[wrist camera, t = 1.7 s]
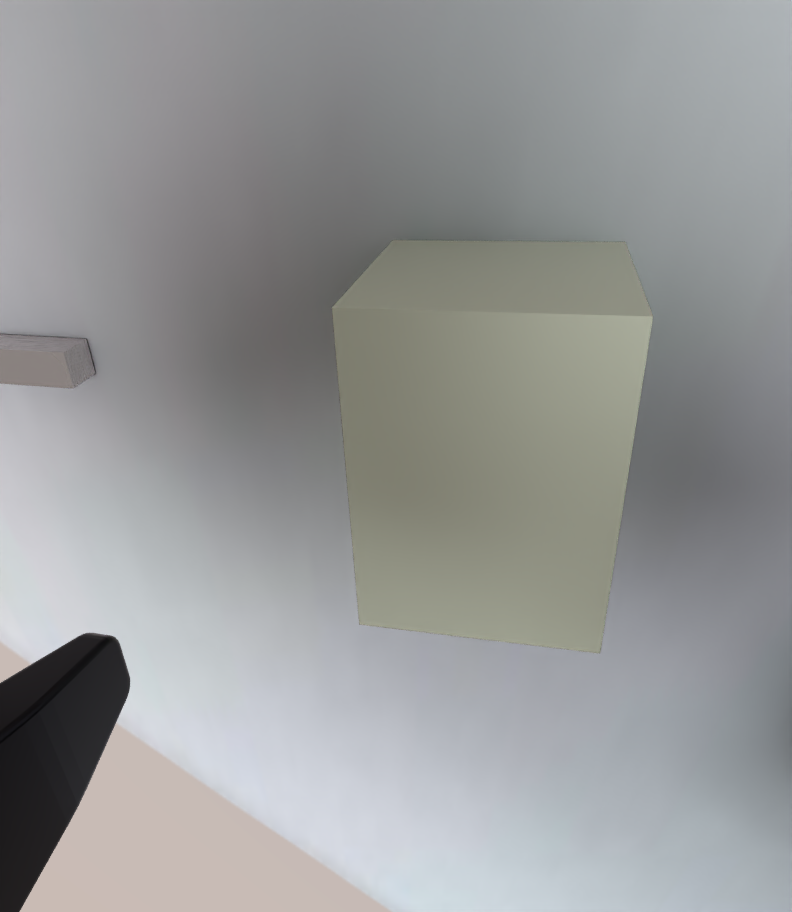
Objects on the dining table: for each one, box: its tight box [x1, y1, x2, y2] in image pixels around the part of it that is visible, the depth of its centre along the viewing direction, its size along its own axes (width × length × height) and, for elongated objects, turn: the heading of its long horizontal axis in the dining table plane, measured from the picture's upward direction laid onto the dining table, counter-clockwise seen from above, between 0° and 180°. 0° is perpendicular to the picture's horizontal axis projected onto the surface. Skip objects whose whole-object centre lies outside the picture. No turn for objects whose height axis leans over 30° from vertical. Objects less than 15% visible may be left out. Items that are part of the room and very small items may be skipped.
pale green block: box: [332, 240, 653, 653], centre depth 15 cm, size 8×5×5 cm, turn 2°
